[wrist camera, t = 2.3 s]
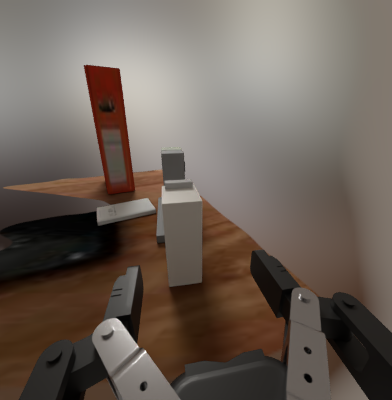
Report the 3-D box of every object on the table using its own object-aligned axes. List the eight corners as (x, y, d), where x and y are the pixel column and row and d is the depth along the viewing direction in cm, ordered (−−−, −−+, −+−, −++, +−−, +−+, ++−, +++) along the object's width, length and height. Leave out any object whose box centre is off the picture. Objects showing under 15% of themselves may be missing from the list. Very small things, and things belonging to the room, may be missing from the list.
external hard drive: (156, 215, 45) (98, 227, 40) (148, 202, 52) (97, 212, 46) (155, 209, 44) (96, 221, 39) (147, 197, 51) (96, 206, 46)
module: (169, 286, 25) (161, 197, 20) (168, 256, 30) (161, 180, 25) (203, 282, 25) (204, 194, 20) (196, 253, 31) (195, 178, 26)
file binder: (106, 194, 55) (83, 64, 43) (104, 179, 70) (87, 78, 57) (135, 190, 59) (120, 68, 46) (127, 177, 73) (115, 81, 61)
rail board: (157, 243, 34) (148, 164, 28) (159, 202, 50) (153, 147, 44) (201, 238, 35) (201, 161, 29) (189, 200, 51) (187, 146, 46)
